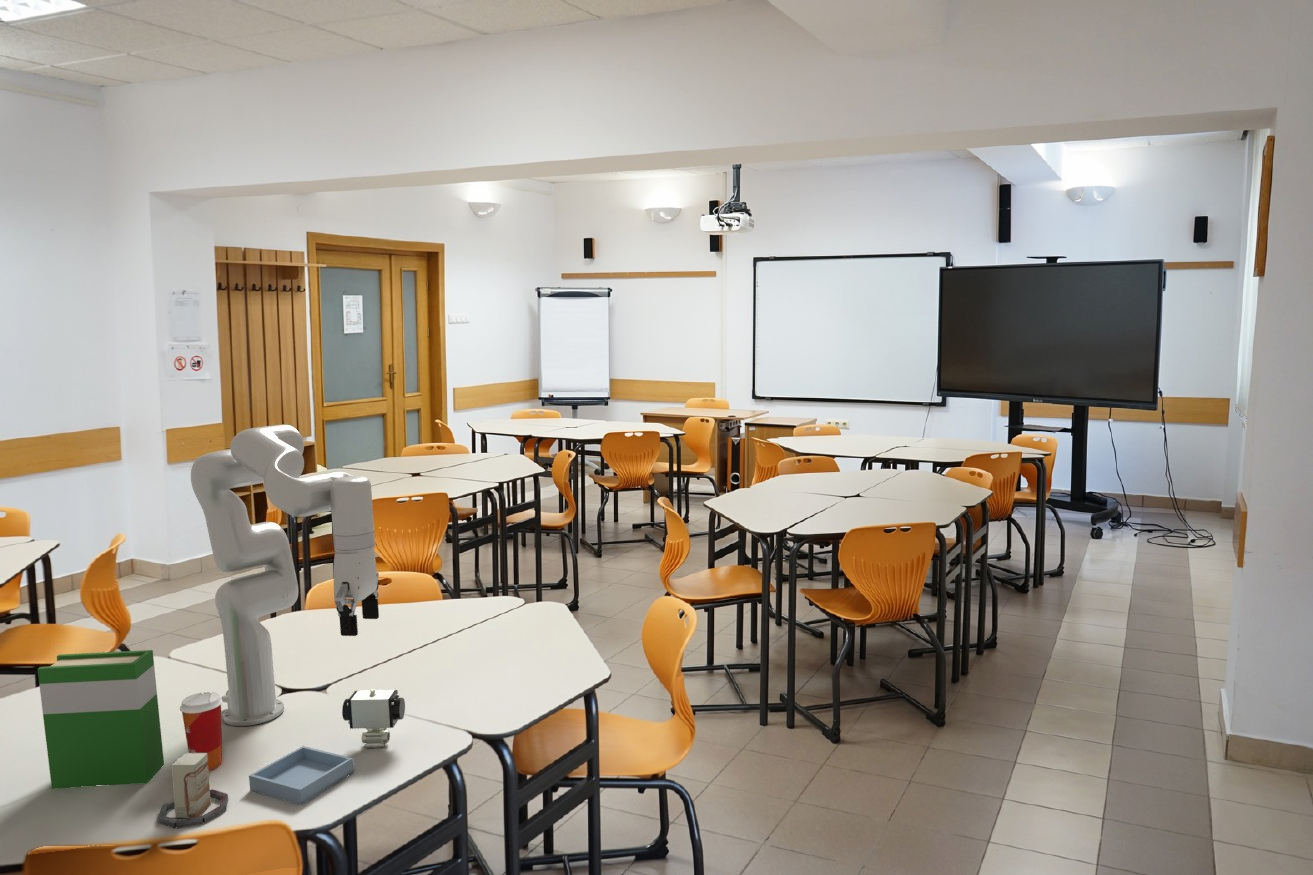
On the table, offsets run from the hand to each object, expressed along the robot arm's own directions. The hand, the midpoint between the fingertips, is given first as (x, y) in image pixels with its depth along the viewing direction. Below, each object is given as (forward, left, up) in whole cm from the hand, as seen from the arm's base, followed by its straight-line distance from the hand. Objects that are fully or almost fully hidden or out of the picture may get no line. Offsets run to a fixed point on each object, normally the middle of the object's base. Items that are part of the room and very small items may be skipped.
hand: (360, 626), depth 184 cm
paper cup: (-30, -14, -28) cm, 43 cm away
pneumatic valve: (-5, +7, -28) cm, 30 cm away
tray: (-7, -11, -28) cm, 31 cm away
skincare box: (-17, -27, -28) cm, 43 cm away
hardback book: (-44, -25, -28) cm, 58 cm away
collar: (-17, -27, -28) cm, 42 cm away
